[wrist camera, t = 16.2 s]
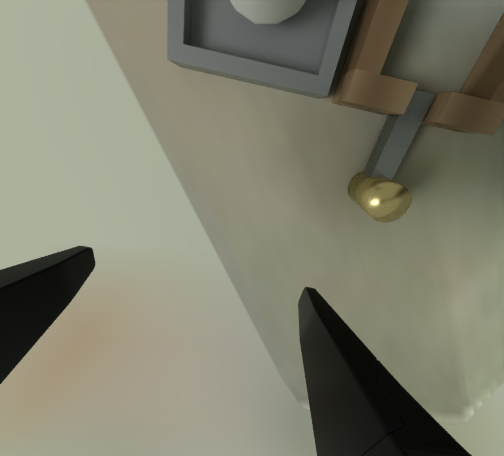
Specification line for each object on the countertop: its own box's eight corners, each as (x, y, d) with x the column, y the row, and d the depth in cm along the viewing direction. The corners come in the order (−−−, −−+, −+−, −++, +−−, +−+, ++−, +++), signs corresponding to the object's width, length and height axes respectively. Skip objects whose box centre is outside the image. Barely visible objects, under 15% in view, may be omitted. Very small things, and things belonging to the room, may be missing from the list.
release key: (425, 98, 17) (476, 93, 13) (372, 204, 21) (398, 225, 17) (388, 89, 16) (428, 82, 13) (343, 198, 21) (361, 218, 17)
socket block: (583, -77, 12) (670, -129, 10) (458, 131, 18) (493, 134, 15) (406, -128, 12) (447, -198, 9) (332, 102, 17) (344, 100, 14)
